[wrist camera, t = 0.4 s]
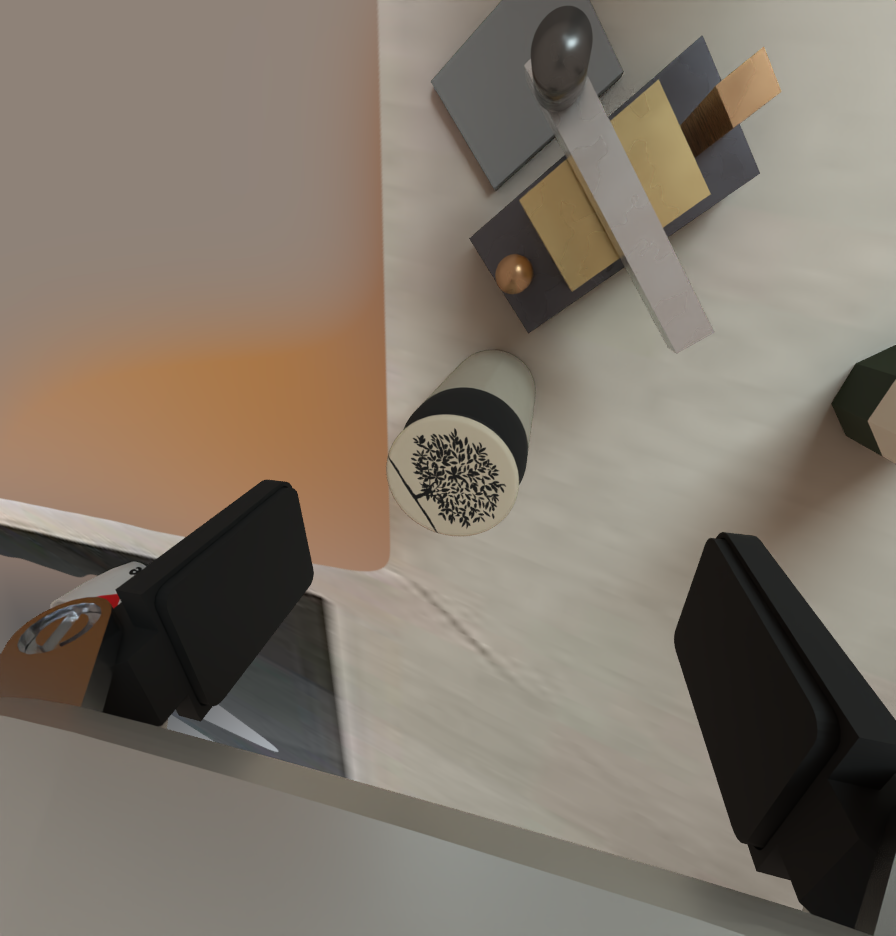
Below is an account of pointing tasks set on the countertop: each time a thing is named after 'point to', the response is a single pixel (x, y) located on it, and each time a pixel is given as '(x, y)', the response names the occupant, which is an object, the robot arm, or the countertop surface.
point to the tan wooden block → (658, 169)
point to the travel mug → (466, 447)
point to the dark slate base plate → (724, 170)
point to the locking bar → (610, 175)
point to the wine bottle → (871, 403)
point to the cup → (103, 585)
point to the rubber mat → (510, 84)
